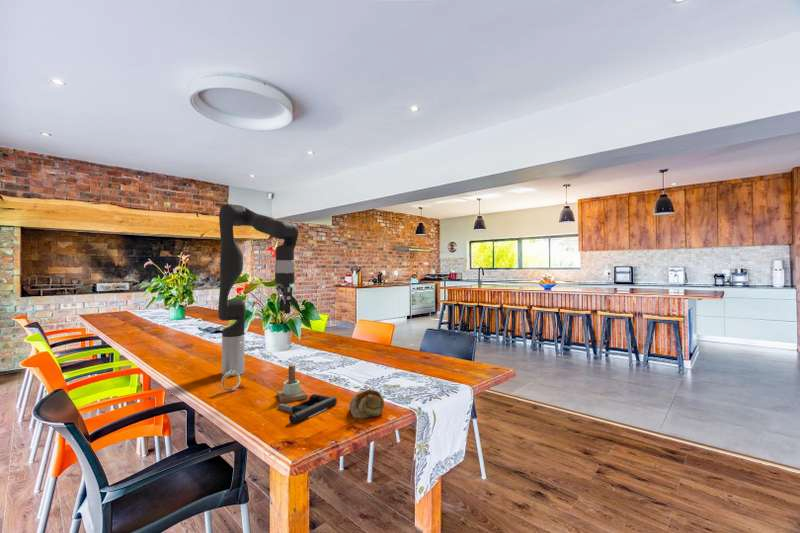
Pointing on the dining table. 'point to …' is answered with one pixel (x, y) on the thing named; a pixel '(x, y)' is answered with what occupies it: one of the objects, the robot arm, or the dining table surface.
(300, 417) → the door handle
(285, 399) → the ring stand
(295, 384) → the napkin ring
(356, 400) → the pastry
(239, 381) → the bracelet
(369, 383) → the dining table surface
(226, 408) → the dining table surface
